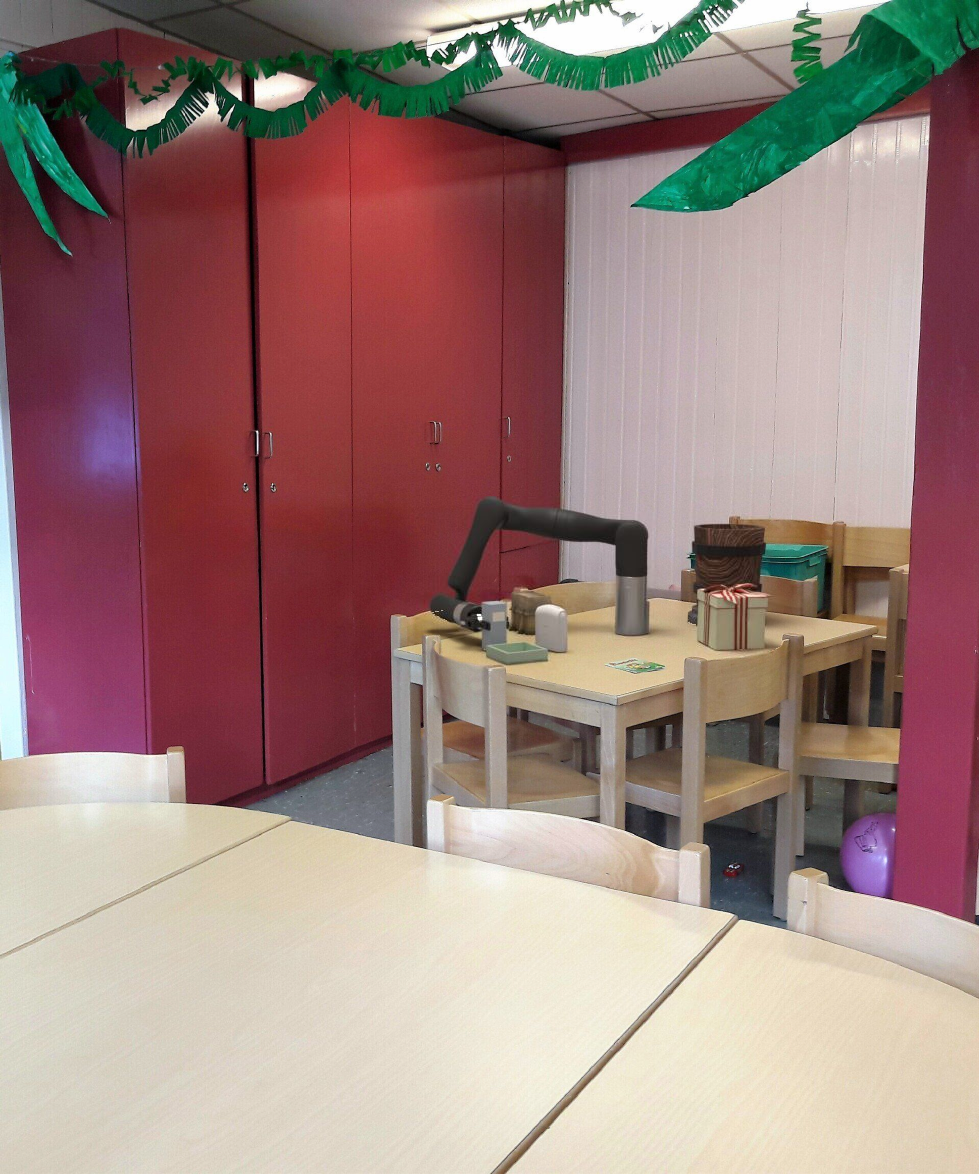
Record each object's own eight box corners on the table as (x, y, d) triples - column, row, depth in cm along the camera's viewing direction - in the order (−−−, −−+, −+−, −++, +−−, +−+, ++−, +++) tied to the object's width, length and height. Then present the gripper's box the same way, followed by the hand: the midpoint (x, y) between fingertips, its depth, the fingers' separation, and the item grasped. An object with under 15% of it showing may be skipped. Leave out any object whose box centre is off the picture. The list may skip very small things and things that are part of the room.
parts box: (498, 647, 299) (498, 600, 297) (506, 650, 294) (506, 603, 293) (481, 648, 297) (481, 602, 295) (490, 652, 292) (490, 605, 290)
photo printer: (532, 647, 298) (532, 603, 297) (544, 645, 301) (544, 602, 299) (558, 653, 291) (558, 608, 289) (569, 651, 293) (570, 606, 291)
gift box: (722, 654, 290) (724, 590, 287) (691, 641, 307) (693, 581, 305) (779, 650, 294) (781, 588, 292) (745, 638, 312) (747, 579, 309)
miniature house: (526, 637, 313) (526, 598, 312) (505, 629, 326) (505, 592, 324) (571, 633, 319) (571, 595, 318) (549, 625, 332) (549, 589, 330)
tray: (525, 652, 292) (525, 641, 292) (547, 660, 282) (547, 649, 281) (486, 656, 287) (486, 645, 286) (507, 665, 276) (507, 653, 276)
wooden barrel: (674, 624, 334) (677, 527, 329) (714, 611, 357) (716, 521, 353) (747, 632, 320) (751, 531, 316) (783, 618, 344) (787, 524, 340)
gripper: (448, 605, 304) (475, 614, 289) (493, 601, 310) (522, 610, 295) (448, 631, 305) (475, 642, 290) (493, 627, 311) (521, 637, 296)
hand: (498, 625), depth 292 cm, fingers closed on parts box, 5 cm apart
